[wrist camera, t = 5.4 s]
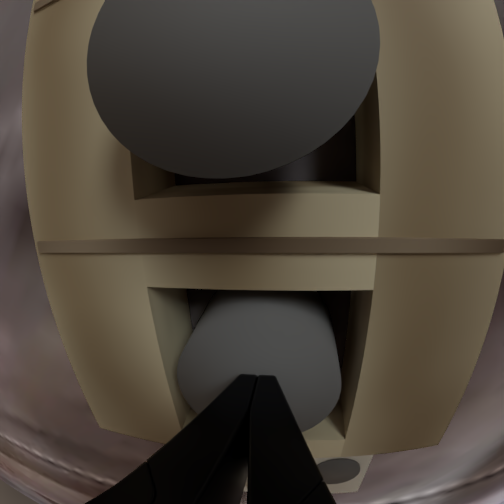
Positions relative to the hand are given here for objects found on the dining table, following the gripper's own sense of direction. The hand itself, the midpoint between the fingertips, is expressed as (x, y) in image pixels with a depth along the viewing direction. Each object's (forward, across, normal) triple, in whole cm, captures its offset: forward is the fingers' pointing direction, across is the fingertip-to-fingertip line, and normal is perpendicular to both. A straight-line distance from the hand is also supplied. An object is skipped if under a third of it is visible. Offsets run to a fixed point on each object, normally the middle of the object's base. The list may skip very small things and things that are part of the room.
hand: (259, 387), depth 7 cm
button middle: (+1, 0, -7) cm, 7 cm away
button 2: (+3, 0, 0) cm, 3 cm away
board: (+3, 0, -7) cm, 7 cm away
